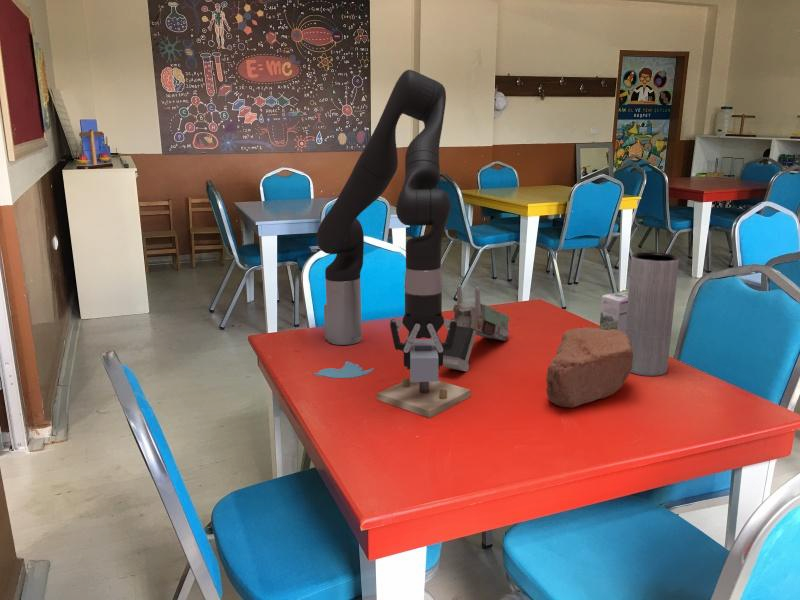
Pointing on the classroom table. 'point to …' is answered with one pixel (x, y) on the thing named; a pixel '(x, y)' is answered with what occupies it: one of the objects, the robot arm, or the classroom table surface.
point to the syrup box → (613, 312)
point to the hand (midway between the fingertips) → (423, 367)
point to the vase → (651, 311)
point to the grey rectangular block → (423, 361)
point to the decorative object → (344, 371)
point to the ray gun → (473, 329)
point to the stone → (588, 366)
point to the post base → (424, 396)
